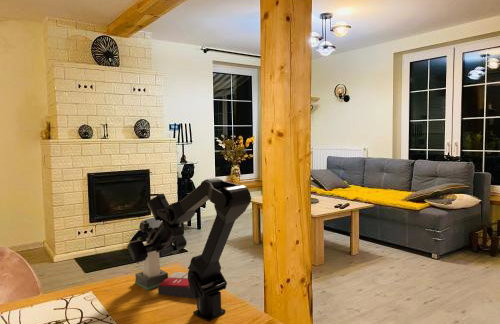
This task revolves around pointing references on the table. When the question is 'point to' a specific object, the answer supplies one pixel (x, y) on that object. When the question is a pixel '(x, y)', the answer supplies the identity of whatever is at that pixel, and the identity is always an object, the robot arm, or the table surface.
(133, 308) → the table surface
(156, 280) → the grey and green tray
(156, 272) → the plug
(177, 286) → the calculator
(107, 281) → the table surface
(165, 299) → the table surface
